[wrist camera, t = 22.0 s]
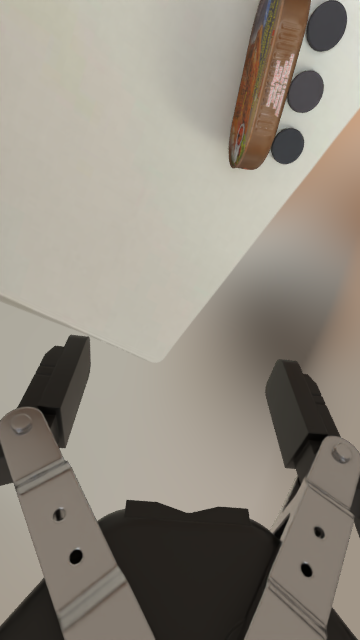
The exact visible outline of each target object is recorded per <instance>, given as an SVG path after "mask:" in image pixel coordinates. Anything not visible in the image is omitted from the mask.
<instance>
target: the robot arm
mask: <svg viewBox="0 0 360 640" xmlns="http://www.w3.org/2000/svg"><path fill="white" fill-rule="evenodd" d="M90 364H91V362H90V338H89V337H85V336H76V335H70V336H69V338H68V340H67V342H66V344H65V346H64V347H62V346H54V347H53V348H52V349H51V350H50V351H48V352H47V353H46V354H45V356H44V357H43V359H42V361H41V363H40V366H39V367H38V369H37V371H36V374H35V375H34V377H33V379H32V381H31V383H30V385H29V386H28V389H27V391H26V392H25V394H24V396H23V398H22V400H21V402H20V404H19V406H18V407H17V408H16V409H15V410H12V411H10V412H9V413H7V414H6V415H5V416H4V417H3V418H2V419H1V420H0V486H1V485H5V484H9V483H14V486H15V489H16V492H17V495H18V498H19V502H20V505H21V508H22V511H23V514H24V517H25V520H26V523H27V526H28V529H29V532H30V535H31V538H32V541H33V544H34V547H35V550H36V554H37V557H38V560H39V562H40V566H41V568H42V572H43V575H44V578H43V579H42V581H41V582H40V583H39V584H38V585H37V586H36V587H35V588H34V590H33V591H32V592H31V593H30V594H29V595H28V596H27V597H26V598H25V599H24V601H23V602H22V603H21V604H20V605H19V606H18V607H17V608H16V609H15V611H14V612H13V613H12V614H11V615H10V616H9V617H8V618H7V619H6V621H5V622H4V623H3V624H2V625H1V626H0V640H358V639H357V638H356V637H355V636H354V634H353V633H352V632H351V631H350V629H349V628H348V627H347V625H346V624H345V623H344V622H343V620H342V619H341V618H340V617H339V615H338V614H337V613H336V612H335V610H334V609H333V608H332V604H333V600H334V596H335V592H336V588H337V584H338V581H339V576H340V573H341V569H342V565H343V561H344V558H345V554H346V550H347V546H348V542H349V539H350V535H351V531H352V527H353V523H355V526H356V529H357V531H358V534H359V537H360V453H359V452H358V450H357V449H356V448H355V447H354V446H353V445H352V444H351V443H350V442H348V441H347V440H345V439H343V438H341V437H340V434H339V432H338V430H337V428H336V426H335V424H334V421H333V419H332V417H331V415H330V413H329V410H328V408H327V406H326V405H325V402H324V400H323V397H321V393H320V391H319V389H318V386H317V384H316V383H315V382H314V381H313V380H312V379H311V377H309V375H308V374H303V373H302V371H301V368H300V366H299V364H298V362H297V361H290V360H281V359H279V360H277V362H276V364H275V366H274V368H273V371H272V373H271V375H270V377H269V379H268V381H267V385H266V392H265V393H266V399H267V402H268V406H269V410H270V414H271V417H272V421H273V425H274V429H275V432H276V435H277V439H278V443H279V447H280V451H281V454H282V458H283V461H284V465H285V468H292V469H296V471H297V477H296V478H295V480H294V482H293V485H292V487H291V489H290V491H289V493H288V495H287V497H286V500H285V502H284V504H283V506H282V508H281V510H280V512H279V515H278V517H277V518H276V520H275V522H274V524H273V525H272V527H271V529H270V530H268V529H267V528H265V527H264V526H262V525H261V524H259V523H257V522H256V521H254V520H251V519H249V512H248V509H242V508H230V507H215V508H211V509H206V510H202V511H198V512H193V513H185V512H183V511H180V510H177V509H174V508H172V507H169V506H166V505H163V504H161V503H158V502H148V501H134V500H127V501H126V508H125V509H123V510H118V511H115V512H113V513H111V514H108V515H106V516H105V517H103V518H101V519H100V520H98V521H97V520H96V518H95V516H94V514H93V512H92V510H91V508H90V505H89V503H88V501H87V499H86V497H85V495H84V493H83V491H82V489H81V486H80V484H79V482H78V480H77V478H76V476H75V474H74V471H73V469H72V467H71V466H70V464H69V462H68V461H65V460H64V458H63V456H62V454H61V451H60V449H59V448H66V445H67V442H68V439H69V435H70V433H71V429H72V426H73V423H74V420H75V417H76V414H77V411H78V408H79V405H80V402H81V399H82V396H83V393H84V389H85V387H86V384H87V380H88V377H89V373H90Z"/></svg>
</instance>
